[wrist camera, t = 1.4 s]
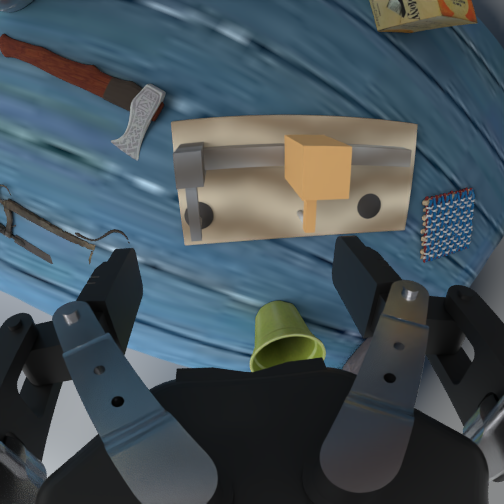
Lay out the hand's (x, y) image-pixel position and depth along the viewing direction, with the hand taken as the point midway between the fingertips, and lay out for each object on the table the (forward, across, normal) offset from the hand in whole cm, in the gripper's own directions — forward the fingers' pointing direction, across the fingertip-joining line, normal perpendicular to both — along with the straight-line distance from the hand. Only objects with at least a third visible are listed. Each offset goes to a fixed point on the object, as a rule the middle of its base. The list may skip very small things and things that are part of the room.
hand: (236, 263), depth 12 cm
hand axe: (+23, +19, -10) cm, 31 cm away
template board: (+23, -9, +2) cm, 24 cm away
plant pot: (+23, -6, +22) cm, 33 cm away
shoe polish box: (+23, -19, -19) cm, 35 cm away
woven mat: (+24, -32, +9) cm, 41 cm away
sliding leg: (+20, -8, +2) cm, 22 cm away
